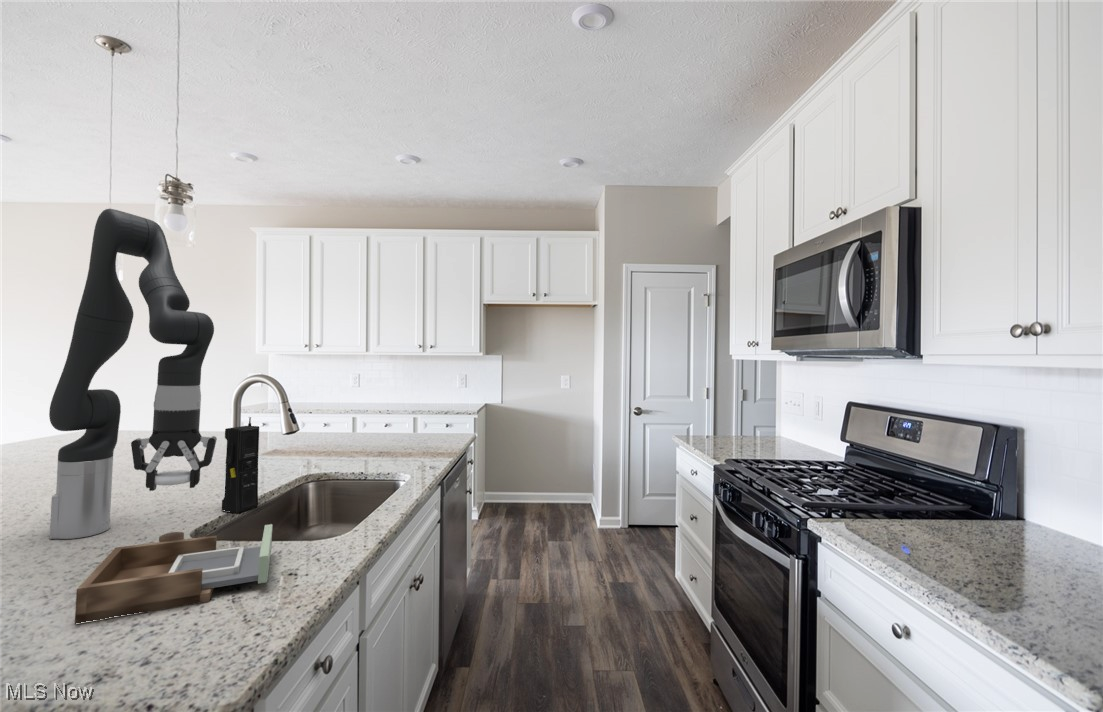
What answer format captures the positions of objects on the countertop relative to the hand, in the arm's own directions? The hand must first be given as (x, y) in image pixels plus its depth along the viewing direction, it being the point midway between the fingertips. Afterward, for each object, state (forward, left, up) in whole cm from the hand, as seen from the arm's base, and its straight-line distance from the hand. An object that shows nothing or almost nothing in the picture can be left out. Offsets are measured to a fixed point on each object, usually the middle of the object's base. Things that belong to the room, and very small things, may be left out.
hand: (172, 488), depth 97 cm
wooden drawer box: (+1, -14, -15) cm, 20 cm away
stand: (0, 0, -15) cm, 15 cm away
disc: (0, 0, +1) cm, 1 cm away
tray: (+10, -14, -13) cm, 22 cm away
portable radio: (+9, +32, -15) cm, 37 cm away
